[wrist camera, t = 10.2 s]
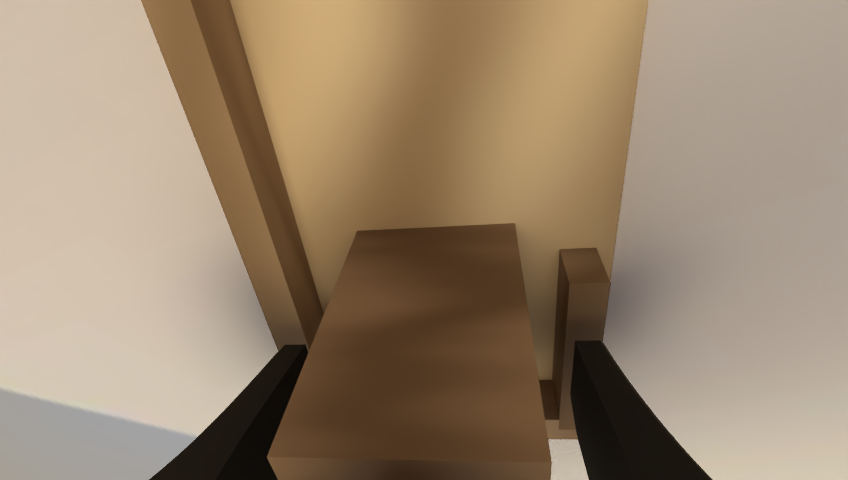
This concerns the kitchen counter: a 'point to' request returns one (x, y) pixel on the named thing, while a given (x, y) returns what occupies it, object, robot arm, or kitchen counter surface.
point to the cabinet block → (420, 365)
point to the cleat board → (415, 142)
